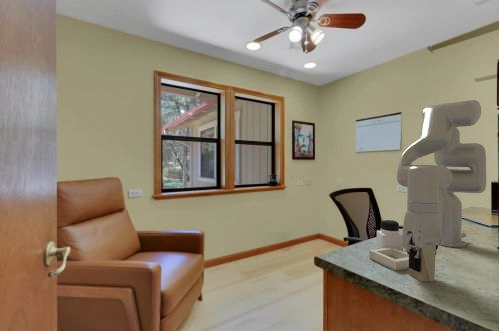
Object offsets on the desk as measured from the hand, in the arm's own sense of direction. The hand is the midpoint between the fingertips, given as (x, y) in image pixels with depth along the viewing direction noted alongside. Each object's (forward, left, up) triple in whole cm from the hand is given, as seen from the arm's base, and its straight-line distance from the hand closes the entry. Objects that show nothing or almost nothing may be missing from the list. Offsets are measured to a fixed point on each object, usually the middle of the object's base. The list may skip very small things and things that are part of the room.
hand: (421, 267), depth 71 cm
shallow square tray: (-2, -11, -3) cm, 12 cm away
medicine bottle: (-10, -19, -3) cm, 22 cm away
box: (0, 0, -3) cm, 3 cm away
